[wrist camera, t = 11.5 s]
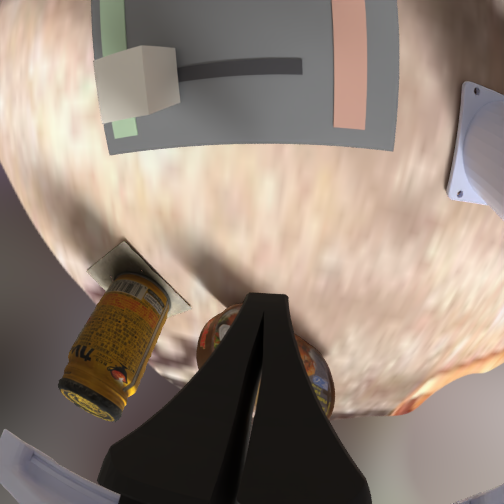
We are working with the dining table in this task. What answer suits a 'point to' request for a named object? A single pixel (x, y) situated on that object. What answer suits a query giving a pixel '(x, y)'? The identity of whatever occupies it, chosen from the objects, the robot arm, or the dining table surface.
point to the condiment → (118, 334)
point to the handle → (136, 82)
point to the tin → (309, 355)
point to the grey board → (261, 71)
